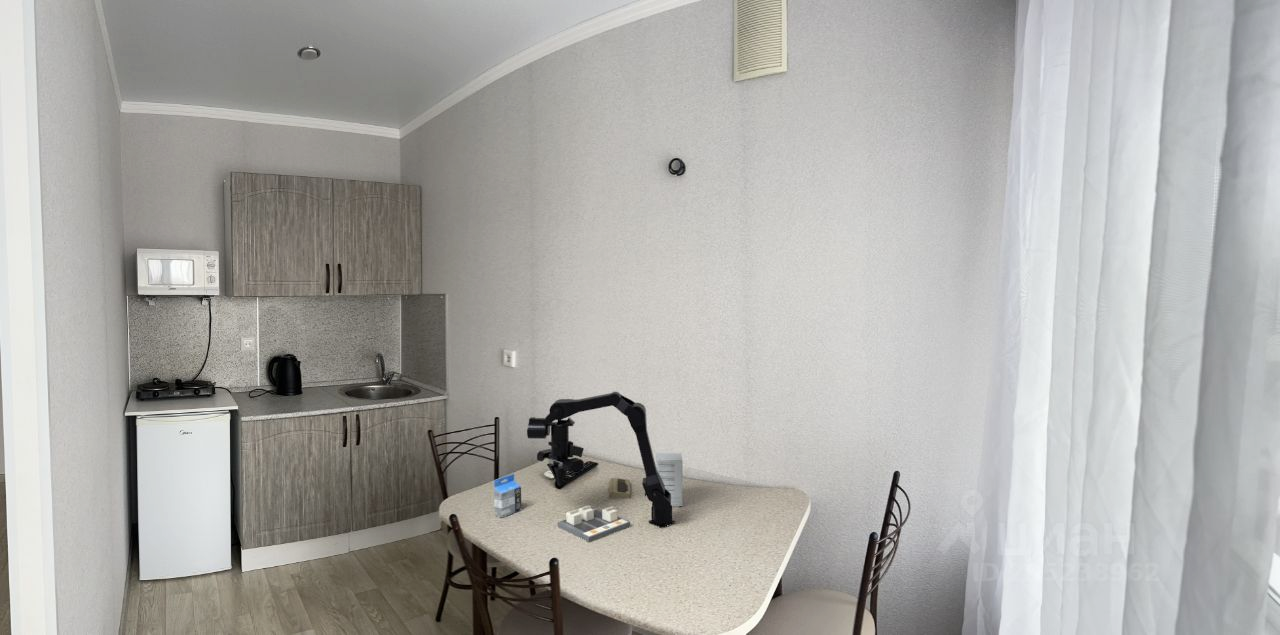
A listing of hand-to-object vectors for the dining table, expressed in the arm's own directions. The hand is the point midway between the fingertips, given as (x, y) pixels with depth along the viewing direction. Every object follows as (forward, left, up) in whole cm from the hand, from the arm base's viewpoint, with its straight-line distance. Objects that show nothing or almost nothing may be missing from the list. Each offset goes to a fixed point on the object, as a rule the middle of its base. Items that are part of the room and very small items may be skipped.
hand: (560, 485), depth 193 cm
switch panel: (-11, -5, -12) cm, 17 cm away
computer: (+8, -33, -12) cm, 36 cm away
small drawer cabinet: (-13, -38, -12) cm, 42 cm away
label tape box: (+18, +9, -12) cm, 23 cm away
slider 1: (-7, 0, -10) cm, 13 cm away
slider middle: (-7, -5, -10) cm, 13 cm away
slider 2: (-13, -10, -10) cm, 19 cm away
